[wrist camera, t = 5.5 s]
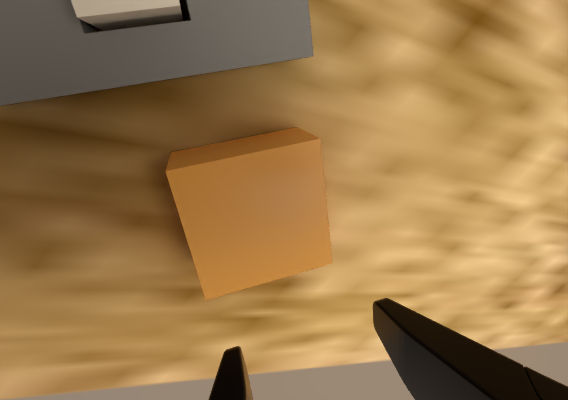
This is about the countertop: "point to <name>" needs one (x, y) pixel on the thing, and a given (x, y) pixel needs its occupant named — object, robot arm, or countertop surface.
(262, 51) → the panel
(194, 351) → the countertop surface
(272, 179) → the cap
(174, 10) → the breaker button
